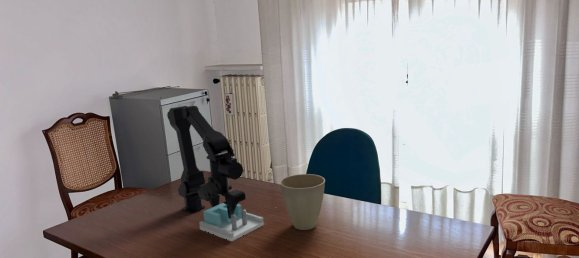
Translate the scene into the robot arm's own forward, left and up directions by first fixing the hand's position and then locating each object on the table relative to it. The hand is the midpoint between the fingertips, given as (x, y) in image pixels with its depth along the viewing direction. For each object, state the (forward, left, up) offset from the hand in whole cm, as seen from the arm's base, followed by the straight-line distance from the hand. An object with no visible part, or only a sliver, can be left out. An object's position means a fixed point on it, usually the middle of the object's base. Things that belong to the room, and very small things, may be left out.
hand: (223, 215), depth 157 cm
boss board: (+4, 0, -3) cm, 5 cm away
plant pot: (+24, +15, -3) cm, 29 cm away
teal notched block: (0, 0, -1) cm, 1 cm away
